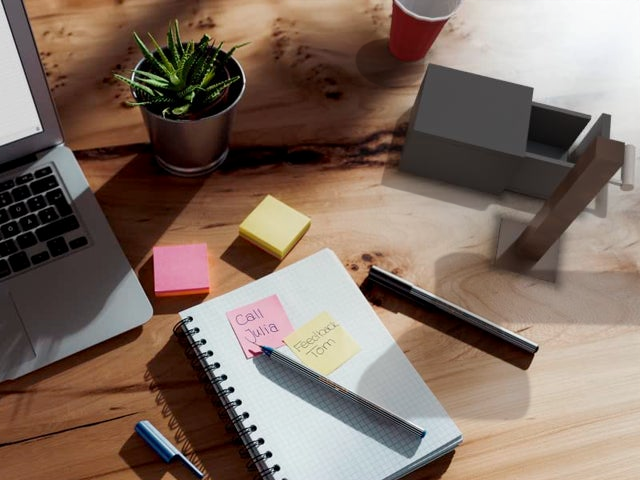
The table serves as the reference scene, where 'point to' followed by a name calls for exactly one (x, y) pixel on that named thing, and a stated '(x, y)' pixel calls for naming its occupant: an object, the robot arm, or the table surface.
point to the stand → (558, 213)
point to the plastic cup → (418, 25)
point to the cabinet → (467, 129)
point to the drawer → (561, 150)
